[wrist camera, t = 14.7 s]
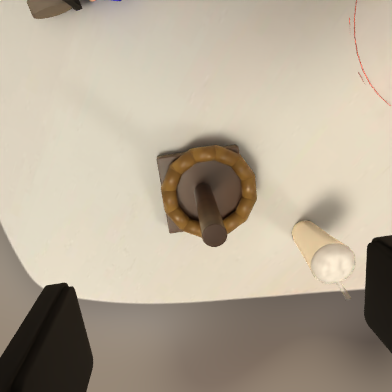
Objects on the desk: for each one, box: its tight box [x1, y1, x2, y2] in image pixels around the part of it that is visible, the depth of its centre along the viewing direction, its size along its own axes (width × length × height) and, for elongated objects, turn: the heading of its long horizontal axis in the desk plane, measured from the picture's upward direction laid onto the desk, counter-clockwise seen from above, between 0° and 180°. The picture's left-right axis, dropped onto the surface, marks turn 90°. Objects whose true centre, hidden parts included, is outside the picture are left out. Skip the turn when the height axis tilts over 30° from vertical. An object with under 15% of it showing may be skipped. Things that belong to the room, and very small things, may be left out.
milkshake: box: [292, 220, 355, 300], centre depth 37 cm, size 4×5×10 cm
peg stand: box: [157, 145, 242, 247], centre depth 33 cm, size 9×9×14 cm
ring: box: [161, 145, 257, 237], centre depth 37 cm, size 10×10×2 cm
